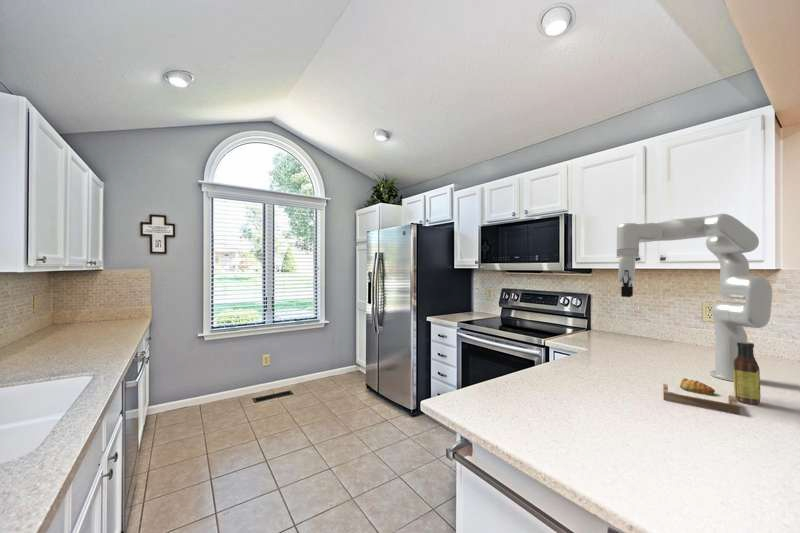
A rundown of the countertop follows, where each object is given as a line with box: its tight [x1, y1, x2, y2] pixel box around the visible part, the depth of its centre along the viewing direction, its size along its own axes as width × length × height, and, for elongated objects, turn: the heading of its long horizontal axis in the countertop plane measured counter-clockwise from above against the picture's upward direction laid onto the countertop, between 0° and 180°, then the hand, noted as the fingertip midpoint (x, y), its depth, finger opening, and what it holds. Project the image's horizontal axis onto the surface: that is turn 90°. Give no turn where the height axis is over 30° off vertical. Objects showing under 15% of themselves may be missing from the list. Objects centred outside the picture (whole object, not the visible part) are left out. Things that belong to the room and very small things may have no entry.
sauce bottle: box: [733, 341, 761, 405], centre depth 114 cm, size 7×6×20 cm
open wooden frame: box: [662, 383, 741, 415], centre depth 113 cm, size 11×18×2 cm, turn 52°
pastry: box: [679, 377, 716, 396], centre depth 124 cm, size 9×7×4 cm
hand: (627, 296), depth 137 cm, fingers open, 9 cm apart
